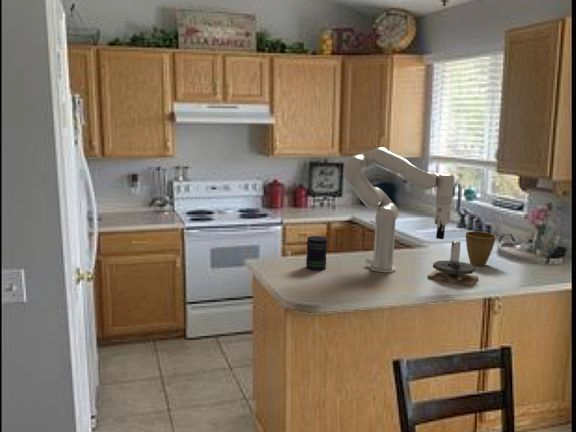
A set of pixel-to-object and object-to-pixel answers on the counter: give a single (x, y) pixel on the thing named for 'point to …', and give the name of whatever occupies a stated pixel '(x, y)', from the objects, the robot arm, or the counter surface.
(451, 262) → the steel pipe
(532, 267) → the counter surface
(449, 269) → the grey petal ring
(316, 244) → the storage jar
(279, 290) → the counter surface
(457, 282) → the base board
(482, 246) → the plant pot
